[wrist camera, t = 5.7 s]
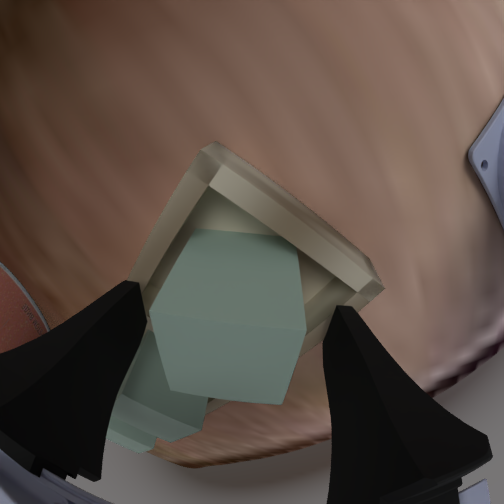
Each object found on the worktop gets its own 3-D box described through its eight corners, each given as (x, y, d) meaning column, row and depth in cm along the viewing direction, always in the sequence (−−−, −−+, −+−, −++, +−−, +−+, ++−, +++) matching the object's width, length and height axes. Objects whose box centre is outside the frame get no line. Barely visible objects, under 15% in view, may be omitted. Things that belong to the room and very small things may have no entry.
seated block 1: (169, 392, 18) (153, 448, 13) (153, 406, 20) (138, 453, 15) (123, 368, 17) (99, 423, 13) (112, 384, 19) (92, 431, 14)
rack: (369, 258, 11) (384, 288, 9) (167, 417, 21) (161, 436, 19) (215, 141, 9) (200, 149, 7) (90, 377, 19) (81, 395, 17)
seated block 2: (217, 352, 15) (201, 430, 10) (187, 378, 16) (170, 442, 12) (155, 318, 14) (121, 393, 9) (134, 349, 15) (106, 412, 11)
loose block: (295, 237, 11) (306, 329, 6) (281, 312, 13) (281, 404, 8) (195, 228, 11) (148, 310, 6) (198, 303, 13) (170, 390, 8)
